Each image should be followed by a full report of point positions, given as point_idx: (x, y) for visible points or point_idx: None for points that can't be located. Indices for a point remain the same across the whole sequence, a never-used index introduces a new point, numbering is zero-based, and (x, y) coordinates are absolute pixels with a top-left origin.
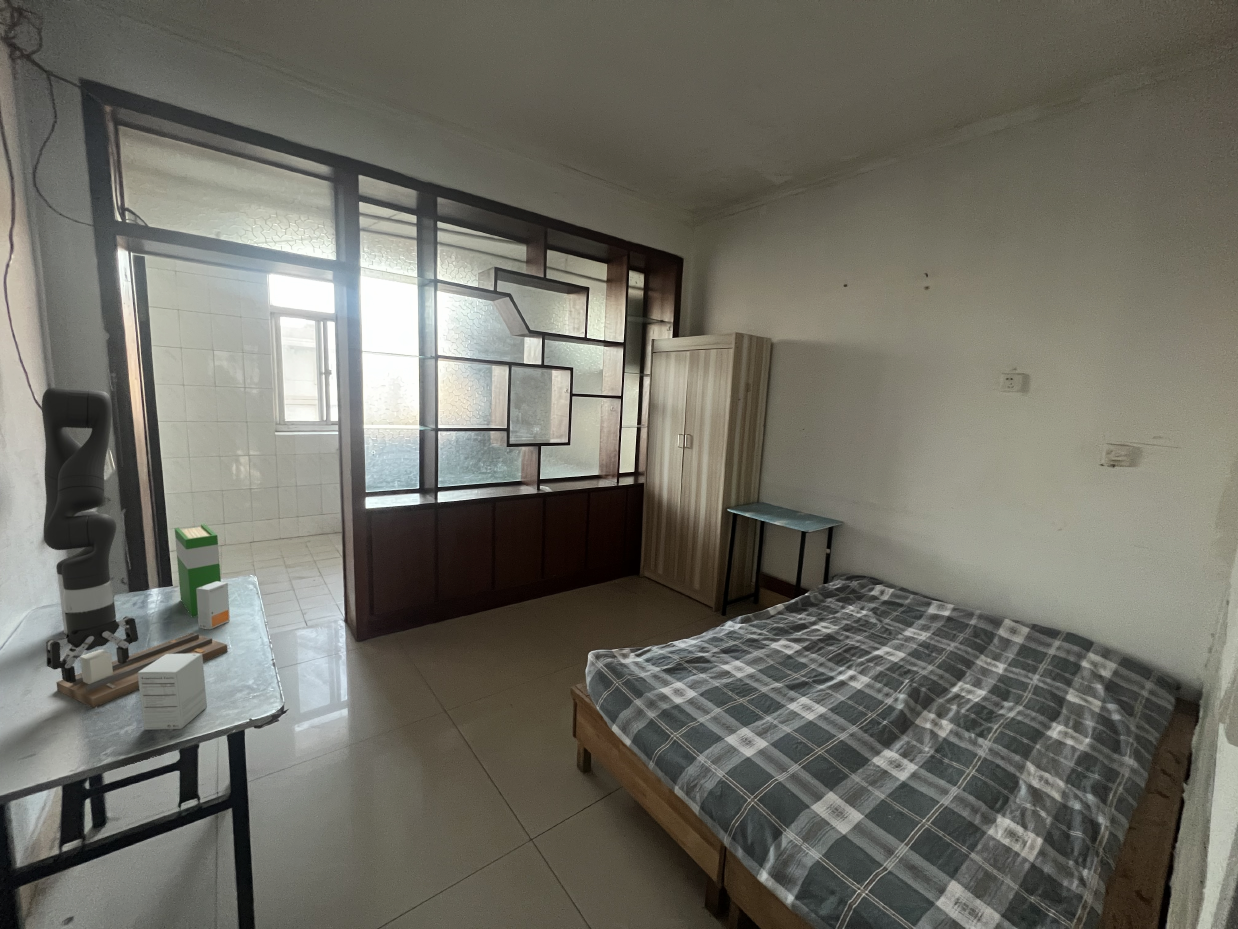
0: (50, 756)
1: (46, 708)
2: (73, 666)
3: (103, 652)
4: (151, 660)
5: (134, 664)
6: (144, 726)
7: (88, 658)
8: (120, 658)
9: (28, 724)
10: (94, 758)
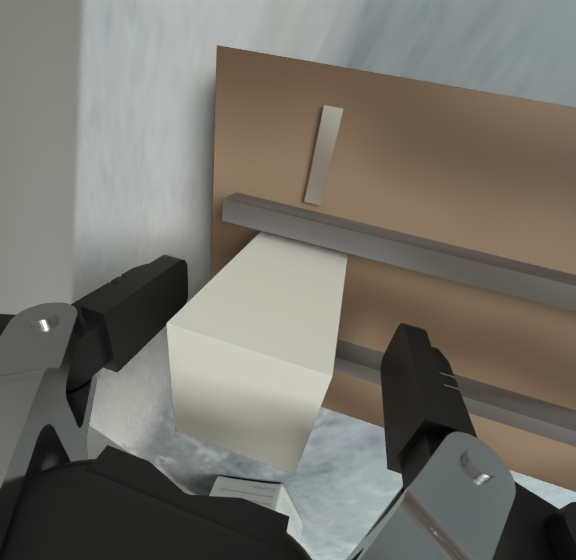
0: (113, 401)
1: (159, 208)
2: (113, 370)
3: (285, 434)
4: (478, 404)
5: (480, 300)
6: (214, 484)
7: (183, 407)
8: (391, 376)
9: (107, 255)
10: (149, 454)
